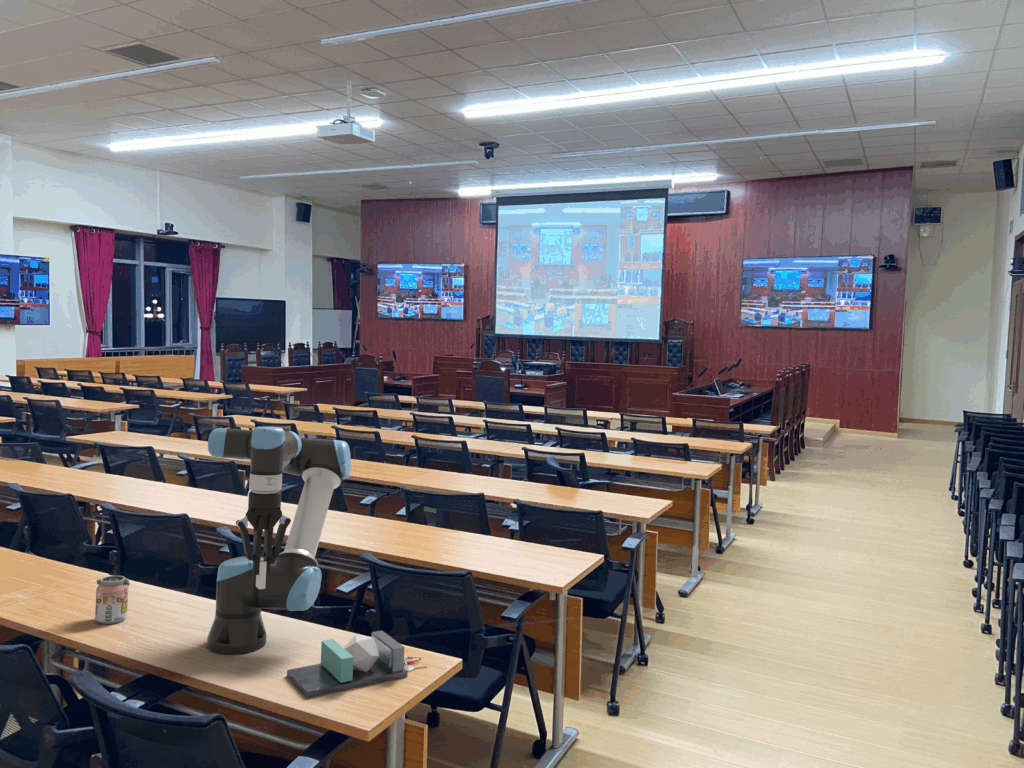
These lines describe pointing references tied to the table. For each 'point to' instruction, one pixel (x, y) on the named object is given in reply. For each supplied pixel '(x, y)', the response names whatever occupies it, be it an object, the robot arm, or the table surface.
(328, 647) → the bar
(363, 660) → the die
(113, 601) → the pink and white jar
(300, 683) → the vise base
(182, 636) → the table surface
